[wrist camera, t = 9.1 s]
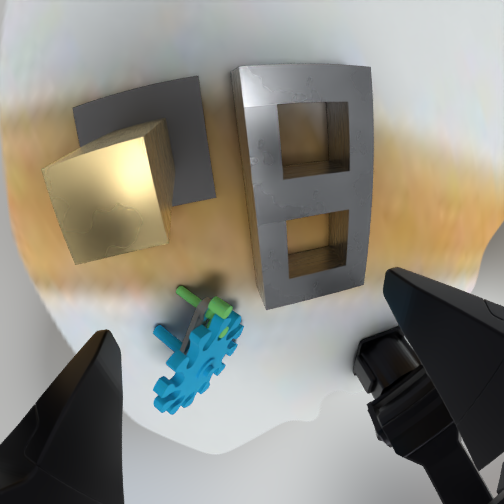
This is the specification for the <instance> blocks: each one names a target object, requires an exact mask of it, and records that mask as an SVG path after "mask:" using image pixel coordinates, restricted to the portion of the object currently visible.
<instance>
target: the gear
mask: <svg viewBox="0 0 504 504" xmlns="http://www.w3.org/2000/svg"><path fill="white" fill-rule="evenodd" d="M176 293H177V294H178V295H179V296H180V297H182V298H183V299H184V300H186V301H187V302H189V303H190V304H191V305H193V306H194V307H195V308H196V310H195V312H194V315H193V317H192V320H191V323H190V325H189V328H188V330H187V333H186V335H185V338H184V340H183V343H182V342H181V341H180V340H178V339H177V338H176V337H175V336H173V335H172V334H171V333H170V332H169V331H167V330H166V329H165V328H164V327H163V326H161V325H159V326H157V327H156V328H155V329H154V331H153V334H154V335H155V336H156V337H157V338H159V339H160V340H161V341H162V342H163V343H164V344H166V345H167V346H168V347H169V348H170V349H172V350H173V351H174V353H173V354H172V356H171V357H170V358H169V359H168V360H167V362H166V364H167V365H168V366H169V367H170V368H171V369H172V370H174V371H175V372H176V373H175V375H174V376H173V377H172V378H171V379H170V380H168V379H167V378H166V377H165V376H163V377H161V378H159V380H158V381H157V383H156V384H155V386H154V389H153V391H155V392H156V393H157V394H158V396H157V397H156V398H155V400H154V406H155V407H156V408H157V409H158V410H159V411H160V412H161V413H163V412H165V411H168V412H169V413H170V414H172V415H173V414H174V413H175V412H176V411H177V410H178V409H179V407H180V406H182V407H183V408H185V407H187V406H189V405H190V404H191V403H192V402H193V400H194V397H195V395H196V393H197V392H199V393H200V394H202V393H203V392H205V391H206V390H207V389H208V388H209V386H210V383H209V381H210V378H211V376H212V374H213V373H214V374H215V375H217V376H218V375H219V374H220V373H221V371H222V370H223V369H224V368H225V364H224V363H222V359H223V357H224V356H225V354H227V355H228V356H231V355H232V354H233V352H234V351H235V349H236V347H237V345H238V344H236V343H235V342H233V341H232V339H237V338H238V337H239V336H240V335H241V333H242V330H243V327H244V326H242V325H241V324H240V322H241V316H240V315H239V314H237V313H236V312H234V311H233V310H232V308H233V307H232V306H231V305H229V304H228V303H226V302H225V301H223V300H222V299H220V298H219V297H217V296H215V297H214V298H213V299H210V298H209V297H206V298H204V299H203V300H201V299H200V298H198V297H197V296H195V295H194V294H193V293H191V292H190V291H188V290H187V289H186V288H184V287H183V286H180V287H178V289H177V291H176ZM208 319H209V322H208V324H207V326H206V327H205V325H206V322H207V320H208Z"/></svg>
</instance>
